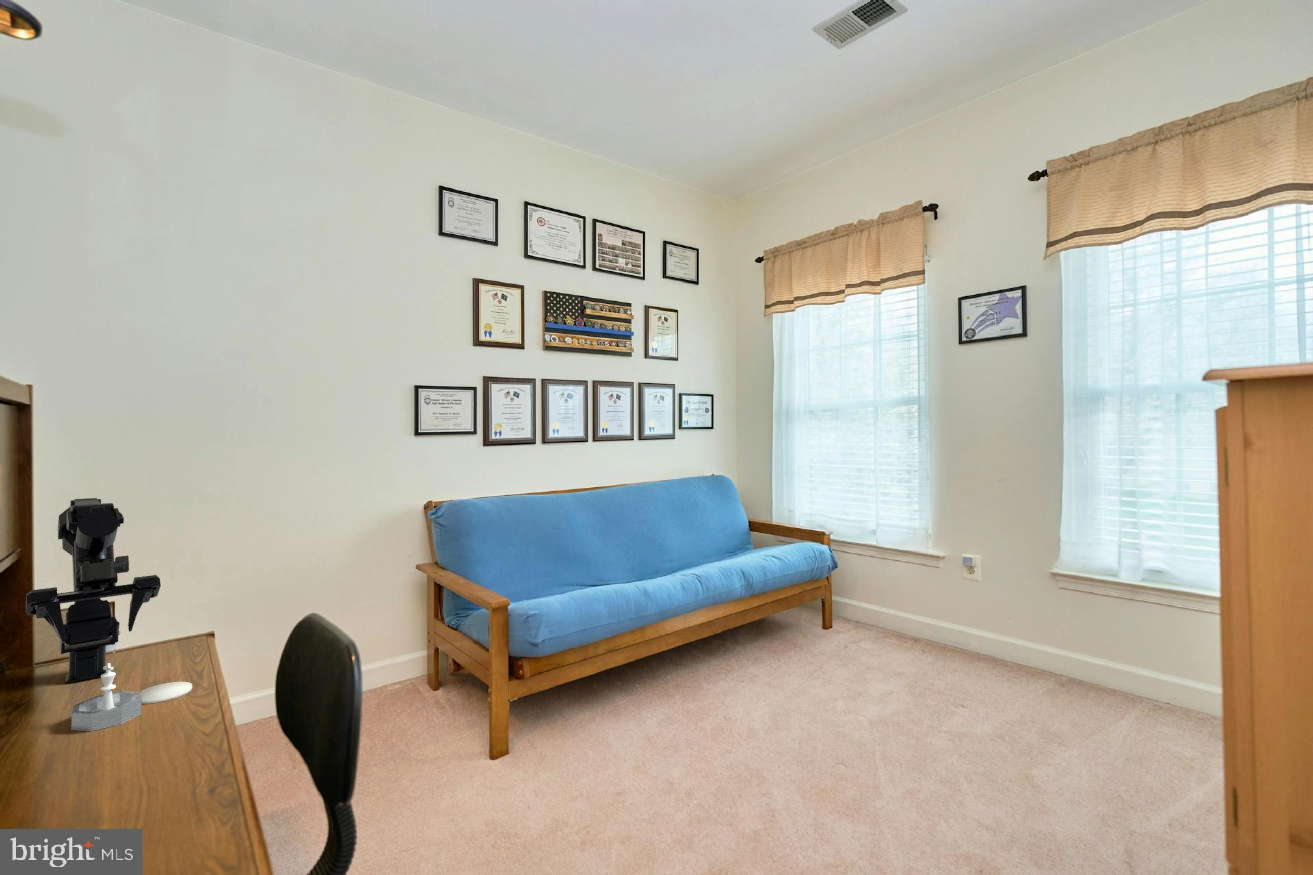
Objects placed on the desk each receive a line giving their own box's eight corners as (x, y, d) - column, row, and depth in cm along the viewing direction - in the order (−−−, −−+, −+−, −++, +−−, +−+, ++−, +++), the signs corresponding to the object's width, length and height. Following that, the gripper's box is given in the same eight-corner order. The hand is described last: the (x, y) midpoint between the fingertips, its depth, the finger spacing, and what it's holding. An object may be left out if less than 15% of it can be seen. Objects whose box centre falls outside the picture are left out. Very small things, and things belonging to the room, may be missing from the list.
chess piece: (103, 726, 105) (104, 669, 105) (81, 723, 106) (82, 667, 106) (133, 713, 110) (133, 659, 110) (111, 711, 111) (112, 657, 111)
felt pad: (133, 692, 119) (133, 689, 119) (190, 681, 125) (190, 678, 125) (133, 708, 112) (133, 704, 112) (193, 694, 118) (193, 691, 118)
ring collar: (74, 716, 109) (74, 700, 109) (141, 702, 115) (141, 687, 115) (70, 735, 102) (70, 718, 102) (141, 719, 108) (141, 703, 108)
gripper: (27, 548, 107) (26, 632, 101) (161, 537, 121) (168, 609, 115) (26, 575, 113) (25, 654, 107) (153, 560, 127) (159, 631, 121)
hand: (98, 636), depth 112 cm, fingers open, 9 cm apart
